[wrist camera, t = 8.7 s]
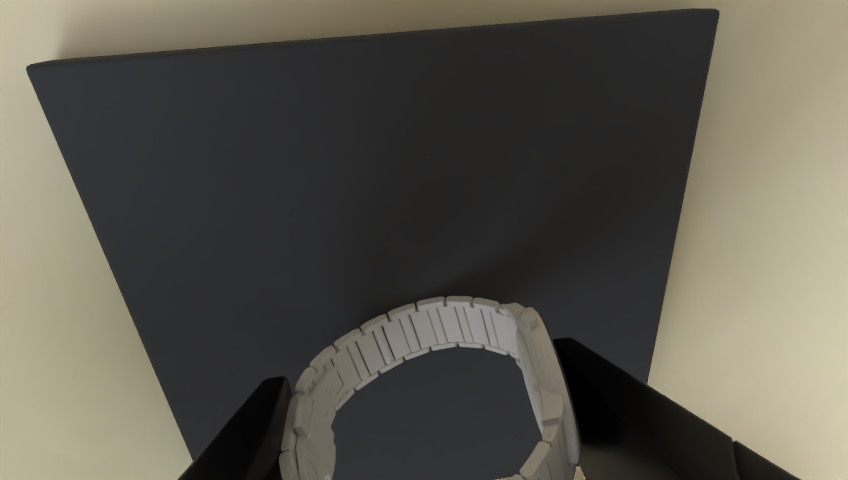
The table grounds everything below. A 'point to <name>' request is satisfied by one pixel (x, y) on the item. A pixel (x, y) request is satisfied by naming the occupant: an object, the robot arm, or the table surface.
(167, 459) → the table surface
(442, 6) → the table surface
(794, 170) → the table surface
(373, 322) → the wristwatch
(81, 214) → the table surface
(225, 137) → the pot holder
